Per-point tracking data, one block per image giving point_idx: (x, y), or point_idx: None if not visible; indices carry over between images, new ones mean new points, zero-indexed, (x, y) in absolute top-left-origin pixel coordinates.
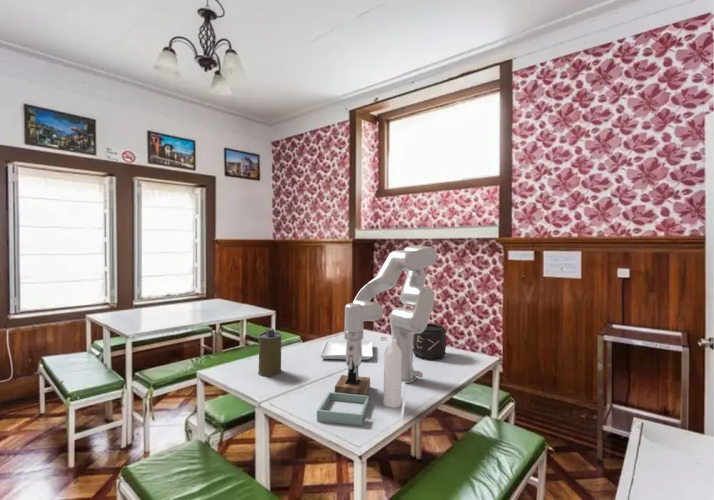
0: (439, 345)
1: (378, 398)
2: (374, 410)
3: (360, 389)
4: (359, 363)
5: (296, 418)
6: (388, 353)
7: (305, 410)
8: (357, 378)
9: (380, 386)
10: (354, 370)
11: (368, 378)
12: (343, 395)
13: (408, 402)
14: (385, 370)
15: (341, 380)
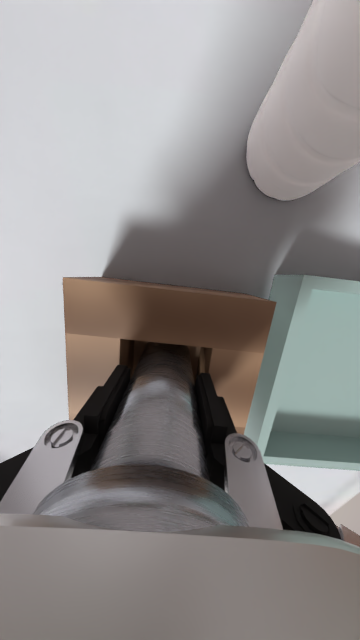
0: None
1: (201, 229)
2: (327, 247)
3: (266, 332)
4: (261, 555)
5: (354, 488)
6: None
7: (305, 477)
8: (176, 373)
9: (46, 218)
10: (264, 475)
11: (86, 289)
12: (275, 400)
13: (243, 27)
14: None
15: None
